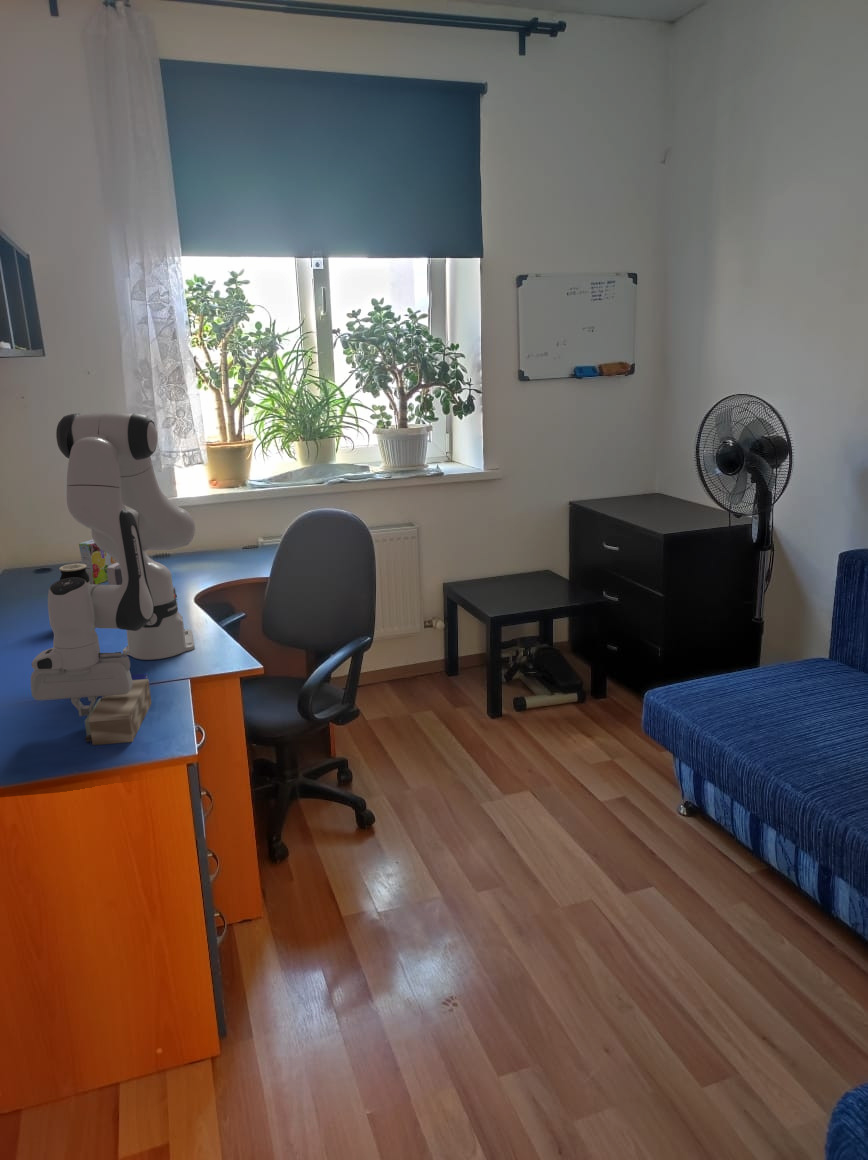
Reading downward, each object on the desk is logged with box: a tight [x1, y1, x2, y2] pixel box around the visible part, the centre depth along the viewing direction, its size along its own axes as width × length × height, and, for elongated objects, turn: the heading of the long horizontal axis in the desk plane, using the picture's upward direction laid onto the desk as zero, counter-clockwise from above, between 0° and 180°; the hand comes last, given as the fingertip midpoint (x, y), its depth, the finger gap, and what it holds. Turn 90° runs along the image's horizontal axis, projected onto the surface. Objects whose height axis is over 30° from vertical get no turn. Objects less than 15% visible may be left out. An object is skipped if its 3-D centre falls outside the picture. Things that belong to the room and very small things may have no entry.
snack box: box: [78, 539, 117, 584], centre depth 305 cm, size 21×6×15 cm, turn 154°
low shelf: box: [85, 678, 152, 746], centre depth 184 cm, size 20×10×6 cm, turn 7°
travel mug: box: [58, 563, 90, 584], centre depth 251 cm, size 8×8×18 cm
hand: (87, 714), depth 184 cm, fingers closed
